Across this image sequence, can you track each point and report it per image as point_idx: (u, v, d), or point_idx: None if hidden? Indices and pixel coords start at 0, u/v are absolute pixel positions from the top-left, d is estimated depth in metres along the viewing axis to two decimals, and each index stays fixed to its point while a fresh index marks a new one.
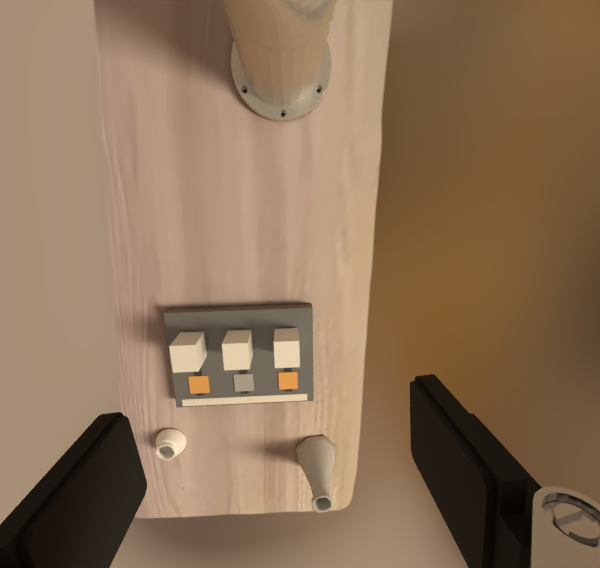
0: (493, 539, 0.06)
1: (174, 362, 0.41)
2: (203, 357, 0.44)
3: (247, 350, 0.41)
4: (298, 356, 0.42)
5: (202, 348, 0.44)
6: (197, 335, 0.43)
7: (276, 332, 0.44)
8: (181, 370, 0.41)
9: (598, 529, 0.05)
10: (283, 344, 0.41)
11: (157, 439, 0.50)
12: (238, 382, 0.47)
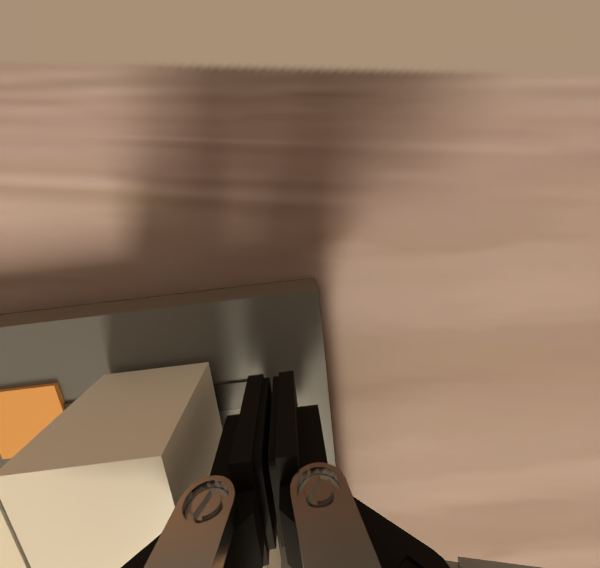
0: None
1: (61, 482, 0.07)
2: None
3: None
4: None
5: None
6: (213, 452, 0.11)
7: None
8: (19, 515, 0.07)
9: (331, 484, 0.06)
10: None
11: None
12: None
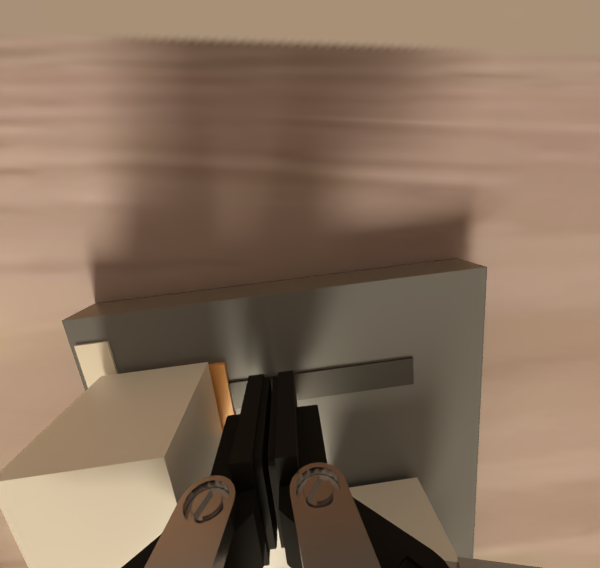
0: None
1: (62, 486, 0.07)
2: None
3: None
4: None
5: None
6: (214, 452, 0.11)
7: None
8: (18, 520, 0.07)
9: (330, 484, 0.06)
10: None
11: None
12: None
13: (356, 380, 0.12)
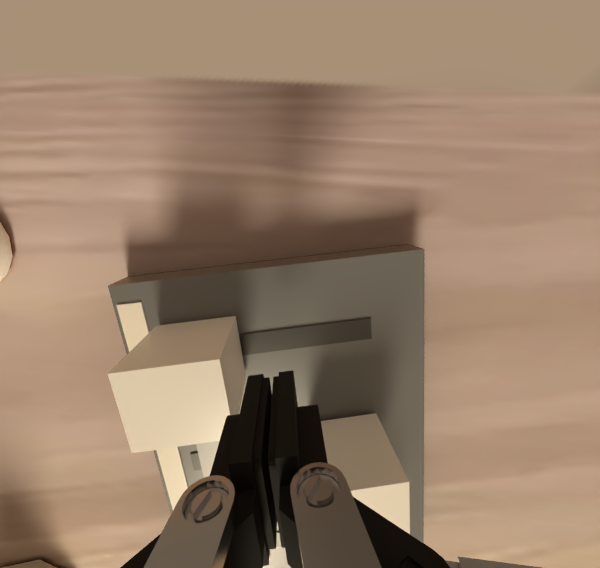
0: None
1: (153, 377, 0.11)
2: None
3: None
4: None
5: None
6: (241, 380, 0.15)
7: None
8: (124, 401, 0.11)
9: (331, 484, 0.06)
10: None
11: None
12: None
13: (328, 335, 0.16)
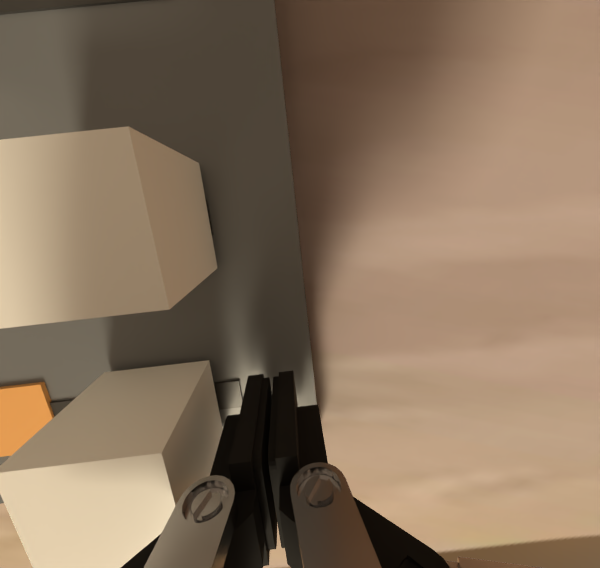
0: None
1: None
2: None
3: (114, 309, 0.06)
4: None
5: None
6: None
7: (201, 385, 0.10)
8: None
9: (331, 484, 0.06)
10: (158, 500, 0.07)
11: None
12: None
13: None
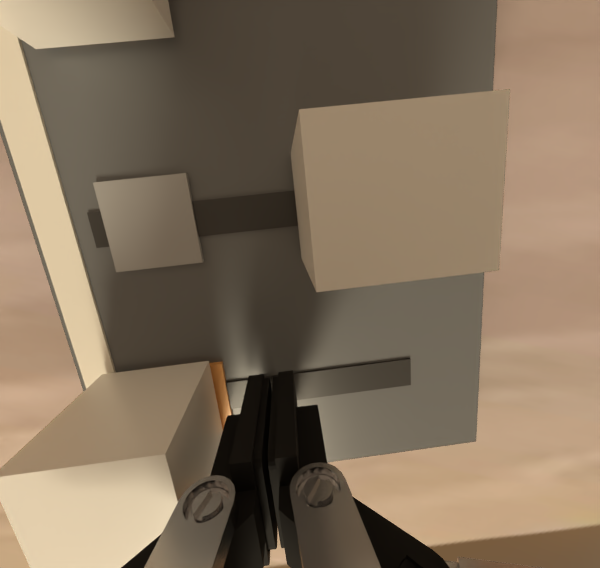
0: None
1: None
2: (6, 8, 0.07)
3: (446, 270, 0.06)
4: None
5: (68, 8, 0.07)
6: None
7: (202, 386, 0.10)
8: None
9: (330, 484, 0.06)
10: (162, 502, 0.07)
11: None
12: (147, 198, 0.10)
13: None
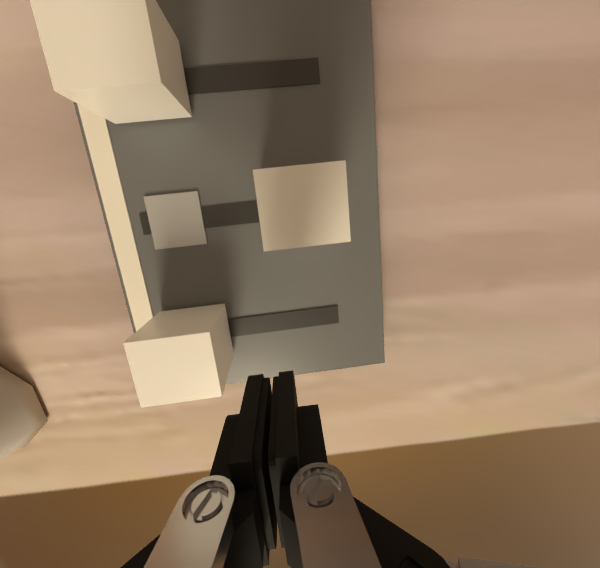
0: None
1: None
2: (110, 112, 0.14)
3: (325, 241, 0.14)
4: (174, 400, 0.15)
5: (140, 111, 0.14)
6: (182, 94, 0.15)
7: (222, 315, 0.17)
8: (42, 19, 0.11)
9: (331, 484, 0.06)
10: (206, 359, 0.15)
11: None
12: (174, 205, 0.17)
13: (275, 75, 0.16)
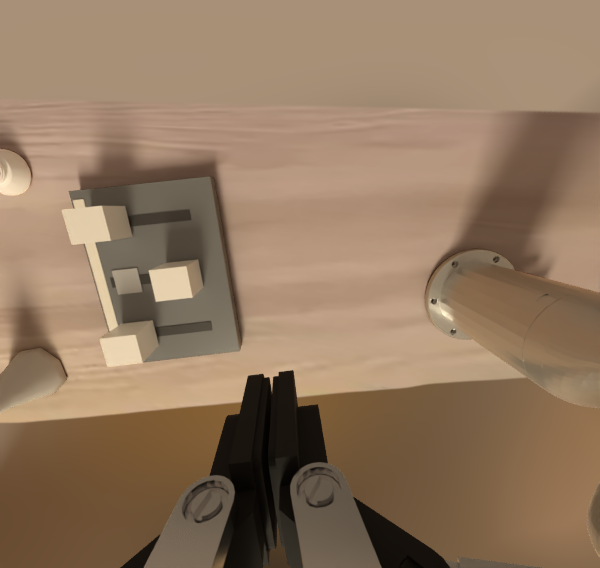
0: None
1: (78, 212, 0.30)
2: None
3: (182, 297, 0.33)
4: (121, 364, 0.34)
5: None
6: (125, 232, 0.34)
7: (148, 326, 0.37)
8: (67, 221, 0.30)
9: (330, 484, 0.06)
10: (135, 346, 0.34)
11: (6, 153, 0.34)
12: (126, 274, 0.36)
13: (170, 217, 0.35)
